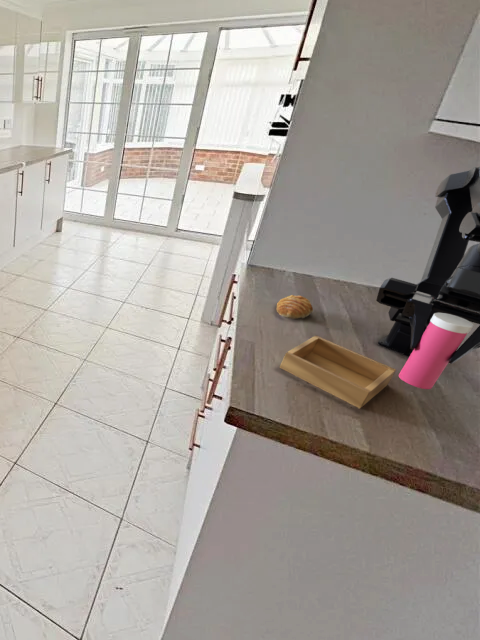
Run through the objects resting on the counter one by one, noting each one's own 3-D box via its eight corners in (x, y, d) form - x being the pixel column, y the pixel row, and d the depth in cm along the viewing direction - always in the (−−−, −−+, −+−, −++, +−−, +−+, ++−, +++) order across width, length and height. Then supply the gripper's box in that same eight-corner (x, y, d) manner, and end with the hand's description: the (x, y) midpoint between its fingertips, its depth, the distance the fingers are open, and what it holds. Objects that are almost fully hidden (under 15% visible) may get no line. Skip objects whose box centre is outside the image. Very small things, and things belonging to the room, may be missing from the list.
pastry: (300, 326, 95) (306, 311, 94) (267, 314, 100) (273, 300, 99) (312, 313, 101) (318, 300, 99) (280, 303, 106) (285, 289, 104)
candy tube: (402, 370, 70) (438, 310, 65) (436, 384, 67) (477, 322, 62) (393, 377, 69) (430, 316, 63) (428, 392, 65) (469, 329, 60)
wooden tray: (307, 352, 86) (315, 335, 84) (385, 388, 76) (396, 369, 74) (277, 370, 80) (285, 352, 78) (358, 412, 70) (369, 392, 68)
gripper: (409, 232, 67) (360, 308, 66) (604, 274, 54) (546, 370, 52) (399, 265, 75) (354, 334, 74) (567, 309, 61) (515, 395, 60)
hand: (430, 355), depth 65 cm, fingers closed on candy tube, 4 cm apart
